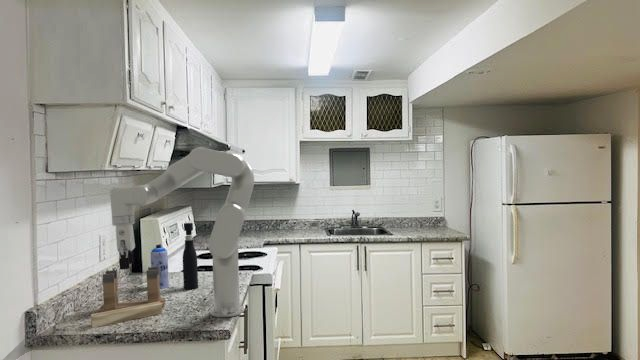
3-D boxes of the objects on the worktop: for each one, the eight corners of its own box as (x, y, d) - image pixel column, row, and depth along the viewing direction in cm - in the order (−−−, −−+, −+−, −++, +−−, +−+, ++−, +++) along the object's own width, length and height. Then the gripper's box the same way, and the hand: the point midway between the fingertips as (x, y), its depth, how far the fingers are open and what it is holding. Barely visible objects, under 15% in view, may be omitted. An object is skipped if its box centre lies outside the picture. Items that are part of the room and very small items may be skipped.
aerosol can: (160, 289, 206) (158, 246, 205) (147, 288, 210) (145, 245, 209) (172, 285, 213) (171, 243, 212) (160, 284, 217) (159, 242, 216)
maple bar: (162, 314, 172) (162, 303, 172) (93, 328, 158) (92, 317, 158) (159, 311, 175) (159, 301, 175) (91, 325, 162) (90, 314, 162)
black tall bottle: (181, 288, 208) (178, 223, 207) (194, 285, 212) (192, 222, 211) (187, 290, 203) (184, 224, 202) (200, 288, 207) (197, 223, 206)
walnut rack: (163, 307, 179) (162, 269, 179) (98, 314, 173) (96, 275, 173) (165, 301, 187) (163, 265, 187) (102, 308, 181) (100, 271, 181)
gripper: (130, 221, 158) (134, 270, 159) (137, 217, 175) (140, 260, 175) (107, 223, 156) (111, 272, 157) (116, 218, 173) (119, 263, 174)
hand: (126, 266), depth 166 cm, fingers open, 9 cm apart
